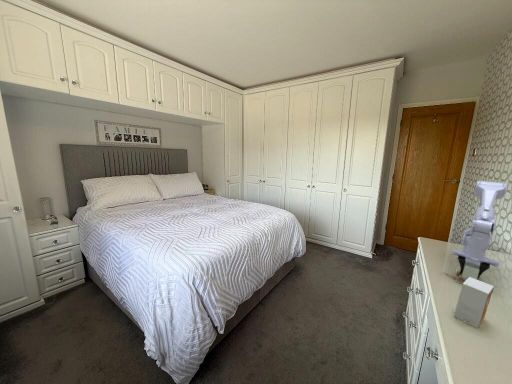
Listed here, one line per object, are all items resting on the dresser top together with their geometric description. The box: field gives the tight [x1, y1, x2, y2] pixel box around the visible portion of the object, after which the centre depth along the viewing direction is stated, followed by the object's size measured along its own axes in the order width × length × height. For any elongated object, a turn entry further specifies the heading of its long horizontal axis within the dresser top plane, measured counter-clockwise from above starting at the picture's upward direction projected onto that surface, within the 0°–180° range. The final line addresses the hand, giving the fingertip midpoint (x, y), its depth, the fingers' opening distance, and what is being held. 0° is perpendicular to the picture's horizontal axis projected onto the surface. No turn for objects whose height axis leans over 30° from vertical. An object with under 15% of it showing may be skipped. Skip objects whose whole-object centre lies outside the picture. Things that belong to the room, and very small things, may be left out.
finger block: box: [461, 262, 479, 280], centre depth 95 cm, size 6×4×7 cm
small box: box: [453, 277, 495, 329], centre depth 73 cm, size 8×6×13 cm
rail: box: [454, 261, 481, 284], centre depth 98 cm, size 16×8×6 cm, turn 136°
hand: (469, 274), depth 95 cm, fingers open, 5 cm apart
